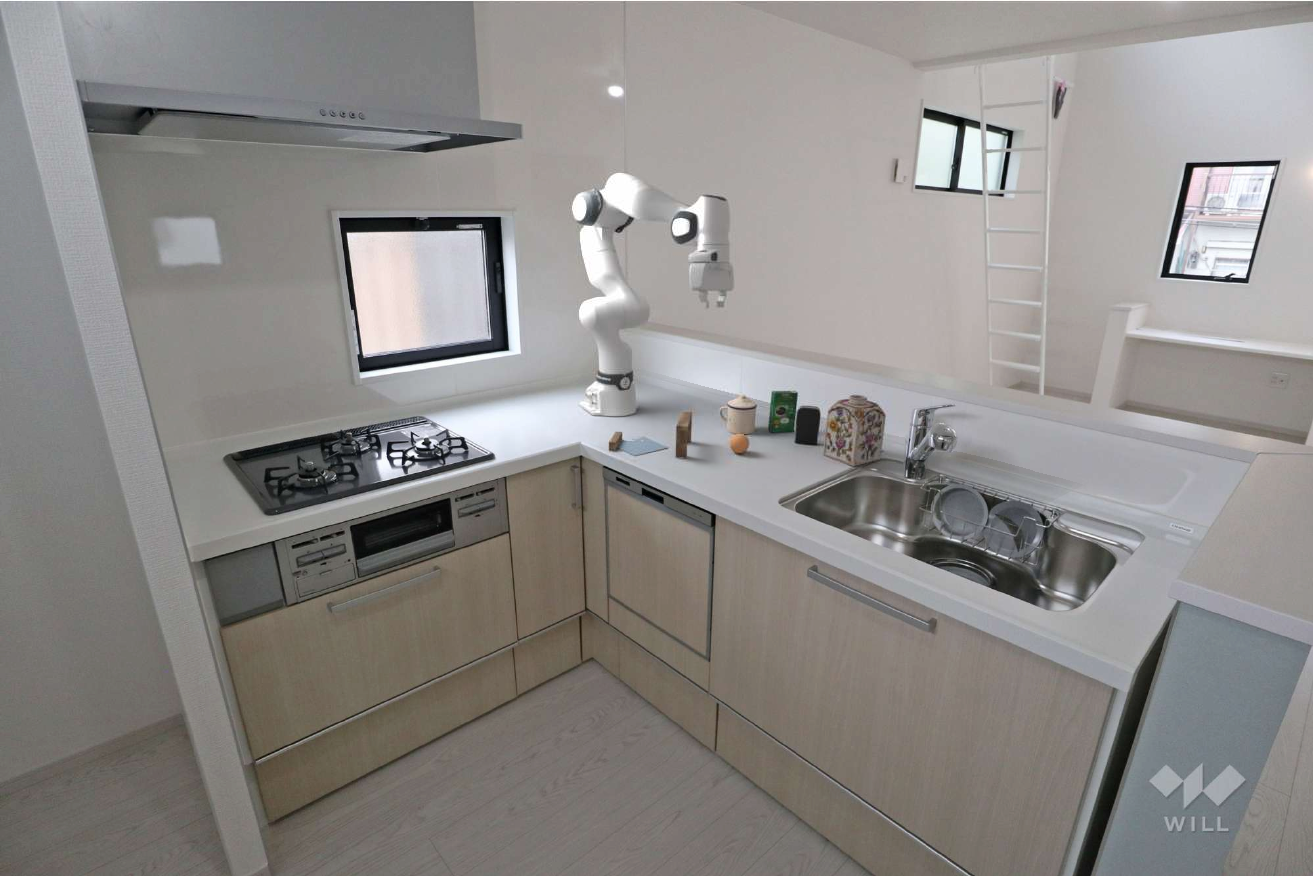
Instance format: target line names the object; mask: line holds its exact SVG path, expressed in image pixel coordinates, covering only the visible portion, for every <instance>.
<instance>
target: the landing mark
mask: <svg viewBox="0 0 1313 876" xmlns="http://www.w3.org/2000/svg"><path fill="white" fill-rule="evenodd" d="M637 438H638V439H636V438H632V439H631V440H635V441H627V440H622V441H621V442H620V444H619V446H618V447H617V449H619V450H620V451H623V452H624V453H625V452H626V453H628V454H629V455H631V456H634V457H637V455H638V456H641V454H642V455H645V454H644V453H646V454H650V453H654V452H658V451H657V450H659V451H663V450H667V449H669V447H668V446H665V445H663V444H661V443H659V442H656V441H654V440H652V439H650V438H647V437H645V436H641V437H637ZM641 440H643V441H641ZM666 448H667V449H666ZM649 452H650V453H649Z"/></svg>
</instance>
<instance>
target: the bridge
mask: <svg viewBox="0 0 1313 876" xmlns="http://www.w3.org/2000/svg"><path fill="white" fill-rule="evenodd" d="M692 421H693V411H684V410H682V411H681V413H680V415H679V418H678V420H677V424H676V425H675V427H676V429H675V432H676V433H675V458H676V457H683V458H682V459H686V458H687V456H688V443H692V425H693V424H692Z"/></svg>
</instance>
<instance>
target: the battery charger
mask: <svg viewBox="0 0 1313 876" xmlns="http://www.w3.org/2000/svg"><path fill="white" fill-rule="evenodd" d="M820 425H821V409H820V408H819V407H818V406H813V405H801V406H799V407H798V408H797V409H796V416H795V435H794V436H795V437H794V443H795V444H800V445H801V444H802V445H809V444H811V446H816V445H818V442H819V441H818V439H819V433H820Z"/></svg>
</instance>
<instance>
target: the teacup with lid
mask: <svg viewBox="0 0 1313 876" xmlns="http://www.w3.org/2000/svg"><path fill="white" fill-rule="evenodd" d="M757 407H758V405H757V403H756V402H755V401H754V400H750V398H748V397H747V396H746V395H745V394H739V396H738V397H737V398H735V399H731V400H729V401H728V403H727V405H724V406H721V407H720V408H719V410H718V415H719V418H720V419H721V420H722V421H723V422H725V423H727V424H726V425H727V426H726V430H727V431H728V432H729V433H730V432H731V433H730V434H733V435H736V434H747V435H751V434H753V433H754V432H755V427H756V426H755V425H756V410H757ZM725 409H726V410H727V418H726V417H724V415H723V410H725Z"/></svg>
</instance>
